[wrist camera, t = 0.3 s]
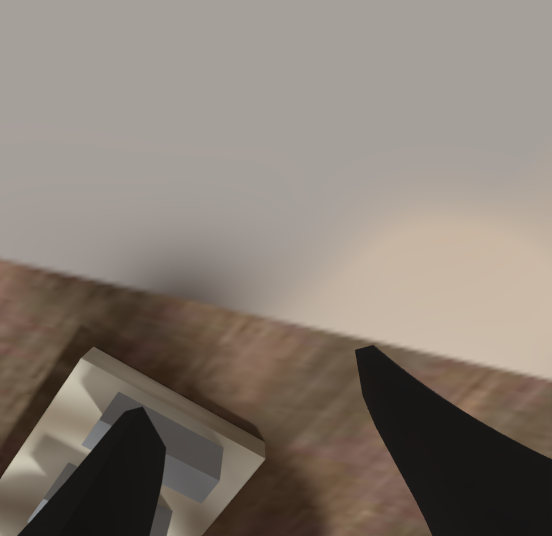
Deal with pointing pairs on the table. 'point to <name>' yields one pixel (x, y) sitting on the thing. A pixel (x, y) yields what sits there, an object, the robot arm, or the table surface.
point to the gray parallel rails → (178, 461)
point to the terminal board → (68, 448)
